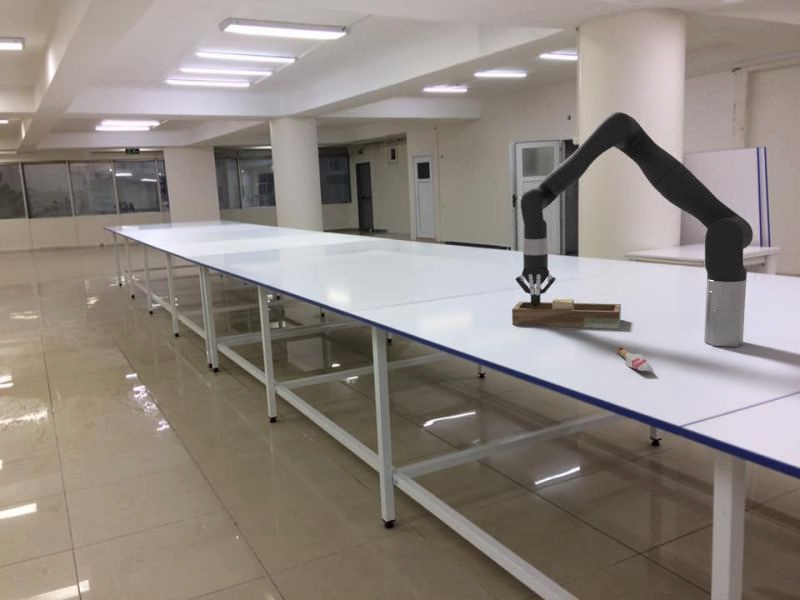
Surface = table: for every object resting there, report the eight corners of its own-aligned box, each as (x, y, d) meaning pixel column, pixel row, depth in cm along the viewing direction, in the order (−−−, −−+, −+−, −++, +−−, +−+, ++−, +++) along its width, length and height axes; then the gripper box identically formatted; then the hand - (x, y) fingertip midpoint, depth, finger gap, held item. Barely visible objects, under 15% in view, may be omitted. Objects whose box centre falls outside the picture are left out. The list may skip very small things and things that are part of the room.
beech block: (571, 314, 197) (572, 302, 196) (552, 314, 199) (552, 301, 198) (573, 311, 201) (573, 299, 200) (554, 310, 203) (554, 298, 203)
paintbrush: (639, 364, 145) (612, 345, 164) (639, 376, 145) (612, 355, 165) (656, 363, 145) (627, 344, 164) (656, 375, 145) (627, 354, 165)
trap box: (618, 328, 189) (619, 312, 188) (512, 324, 201) (512, 309, 200) (620, 319, 200) (620, 304, 199) (519, 316, 212) (519, 301, 211)
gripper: (512, 254, 199) (512, 307, 202) (555, 254, 194) (555, 309, 197) (516, 250, 205) (517, 303, 209) (558, 250, 200) (558, 304, 204)
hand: (535, 305), depth 203 cm, fingers closed
